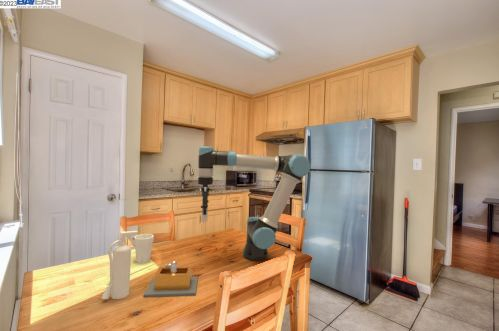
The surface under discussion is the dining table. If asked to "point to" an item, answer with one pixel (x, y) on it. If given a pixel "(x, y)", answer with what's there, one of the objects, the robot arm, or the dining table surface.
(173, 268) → the hook
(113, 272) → the fire extinguisher
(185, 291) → the keeper plate
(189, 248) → the dining table surface
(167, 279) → the framed display niche
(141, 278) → the dining table surface
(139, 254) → the foam cup
